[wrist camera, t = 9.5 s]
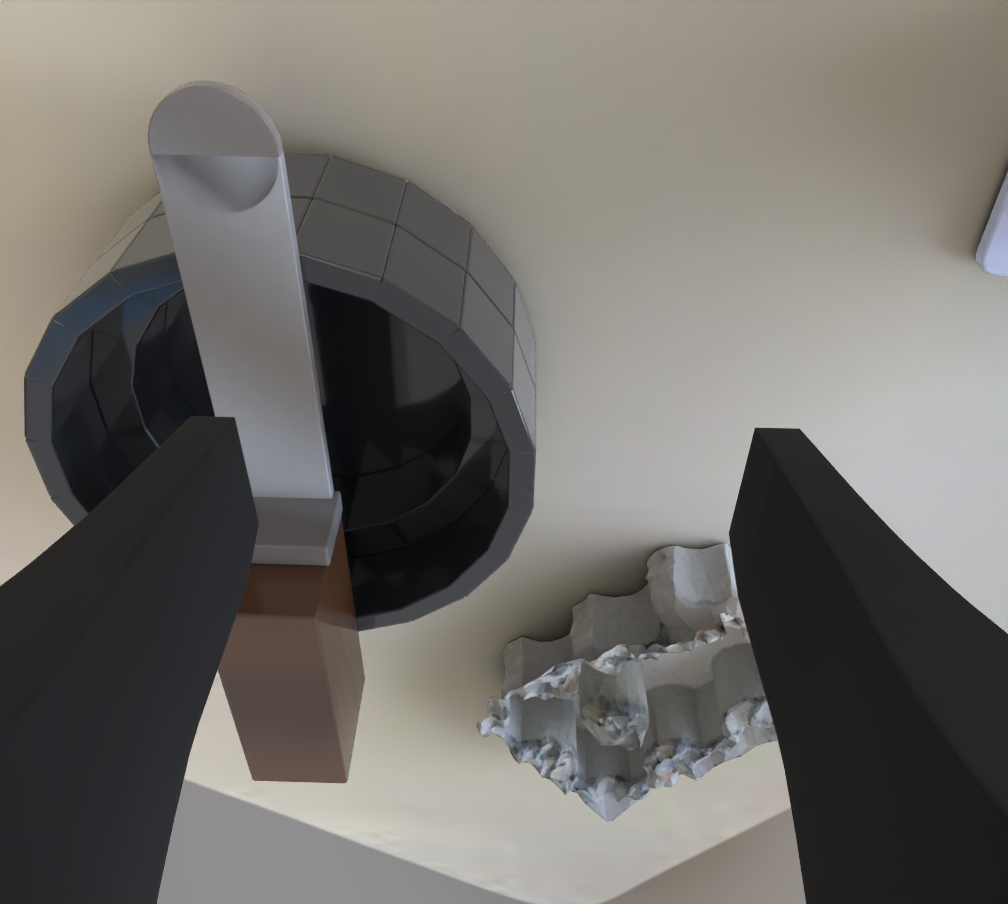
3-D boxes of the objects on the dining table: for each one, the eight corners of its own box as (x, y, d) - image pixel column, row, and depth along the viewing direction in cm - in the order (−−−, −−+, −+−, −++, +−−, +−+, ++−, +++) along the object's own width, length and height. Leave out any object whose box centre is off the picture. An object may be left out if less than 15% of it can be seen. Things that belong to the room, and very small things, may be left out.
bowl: (542, 149, 20) (545, 256, 16) (527, 507, 27) (527, 639, 24) (49, 138, 20) (-62, 241, 17) (163, 498, 28) (104, 627, 24)
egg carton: (710, 511, 27) (734, 615, 24) (836, 628, 31) (871, 733, 28) (464, 654, 32) (457, 757, 29) (596, 742, 36) (603, 843, 33)
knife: (367, 677, 25) (349, 784, 22) (277, 674, 25) (249, 781, 23) (282, 81, 15) (233, 160, 12) (129, 77, 15) (48, 156, 12)
